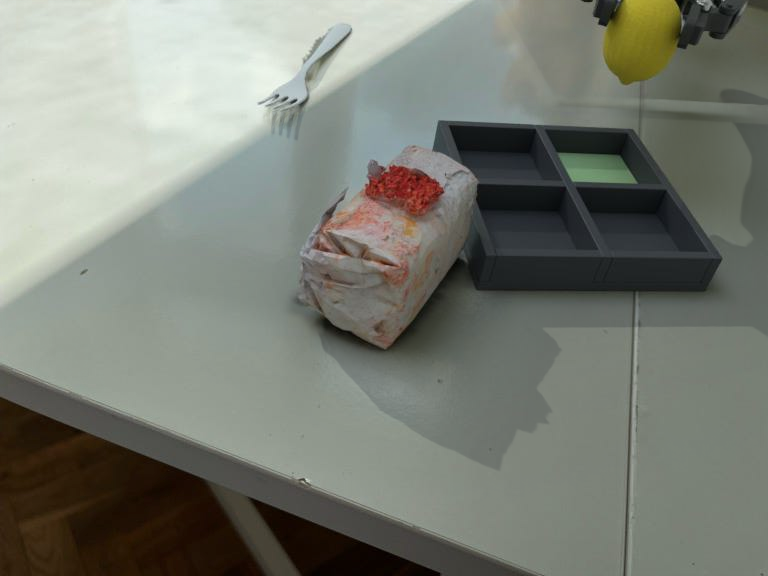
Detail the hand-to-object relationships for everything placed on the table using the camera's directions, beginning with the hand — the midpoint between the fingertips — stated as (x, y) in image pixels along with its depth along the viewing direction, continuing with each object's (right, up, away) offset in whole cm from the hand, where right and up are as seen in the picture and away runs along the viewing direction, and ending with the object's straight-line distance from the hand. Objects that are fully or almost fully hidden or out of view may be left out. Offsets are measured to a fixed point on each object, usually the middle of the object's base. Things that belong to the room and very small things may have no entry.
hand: (646, 24), depth 58 cm
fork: (-27, +3, +22) cm, 35 cm away
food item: (-19, -20, -2) cm, 28 cm away
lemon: (0, -3, +6) cm, 7 cm away
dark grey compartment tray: (-5, -13, +8) cm, 16 cm away
